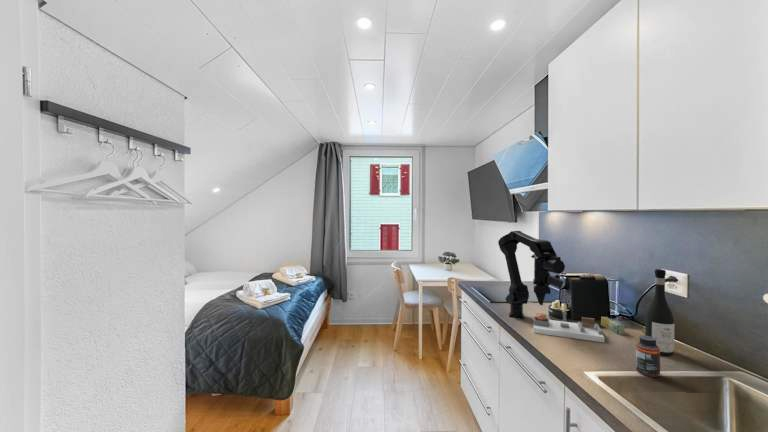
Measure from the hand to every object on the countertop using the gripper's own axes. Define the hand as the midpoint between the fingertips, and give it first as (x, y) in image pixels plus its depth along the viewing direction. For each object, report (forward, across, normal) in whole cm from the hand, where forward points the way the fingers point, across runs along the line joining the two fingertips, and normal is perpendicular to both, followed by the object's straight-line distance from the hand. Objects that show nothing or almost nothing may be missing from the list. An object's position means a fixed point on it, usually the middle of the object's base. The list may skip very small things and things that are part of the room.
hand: (541, 304), depth 143 cm
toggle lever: (+6, 0, -9) cm, 11 cm away
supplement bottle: (+10, -30, -30) cm, 43 cm away
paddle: (+8, +3, -18) cm, 20 cm away
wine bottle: (+10, -9, -39) cm, 41 cm away
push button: (+6, 0, 0) cm, 6 cm away
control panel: (+10, 0, -10) cm, 14 cm away
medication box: (+11, +11, -28) cm, 32 cm away
